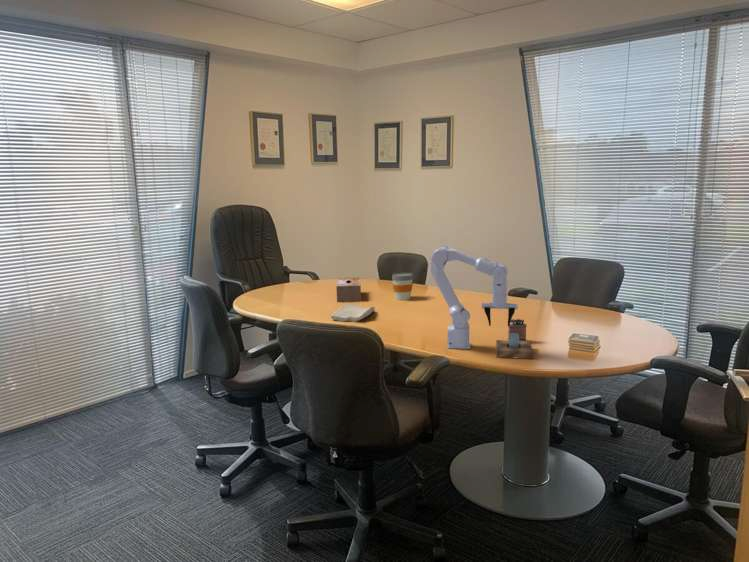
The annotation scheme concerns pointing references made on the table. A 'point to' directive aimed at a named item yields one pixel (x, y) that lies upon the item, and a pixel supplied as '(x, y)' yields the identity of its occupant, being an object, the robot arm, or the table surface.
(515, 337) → the peg
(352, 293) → the tissue box cover
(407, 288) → the reusable coffee cup
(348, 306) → the folded grey cloth
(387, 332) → the table surface
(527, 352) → the socket block
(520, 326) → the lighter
